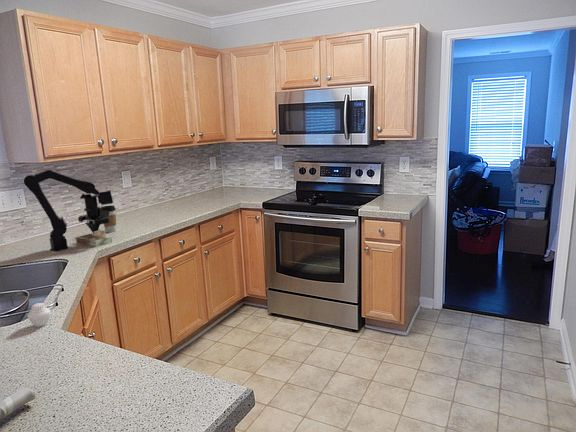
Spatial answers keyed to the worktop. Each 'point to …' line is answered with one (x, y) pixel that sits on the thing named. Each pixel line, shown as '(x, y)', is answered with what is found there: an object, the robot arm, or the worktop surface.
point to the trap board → (93, 240)
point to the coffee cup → (110, 219)
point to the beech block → (99, 234)
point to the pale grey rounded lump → (39, 314)
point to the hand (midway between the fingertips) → (96, 235)
